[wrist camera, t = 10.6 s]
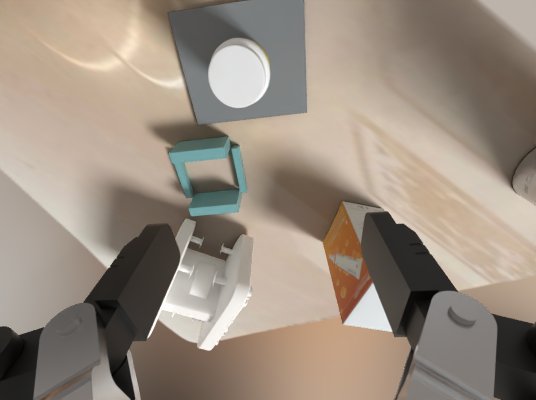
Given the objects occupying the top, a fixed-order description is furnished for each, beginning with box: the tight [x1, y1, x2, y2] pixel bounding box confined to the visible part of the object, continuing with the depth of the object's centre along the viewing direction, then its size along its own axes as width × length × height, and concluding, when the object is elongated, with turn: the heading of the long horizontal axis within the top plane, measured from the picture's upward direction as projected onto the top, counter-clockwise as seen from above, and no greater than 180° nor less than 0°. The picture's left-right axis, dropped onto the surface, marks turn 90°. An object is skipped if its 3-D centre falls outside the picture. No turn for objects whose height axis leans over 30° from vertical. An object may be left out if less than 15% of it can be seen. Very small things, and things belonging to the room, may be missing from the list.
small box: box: [323, 201, 392, 332], centre depth 30 cm, size 8×6×13 cm
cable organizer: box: [147, 218, 254, 350], centre depth 34 cm, size 15×11×12 cm
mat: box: [168, 0, 307, 125], centre depth 24 cm, size 12×10×1 cm
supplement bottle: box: [208, 38, 270, 108], centre depth 20 cm, size 5×5×8 cm
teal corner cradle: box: [168, 136, 247, 216], centre depth 29 cm, size 8×8×4 cm
